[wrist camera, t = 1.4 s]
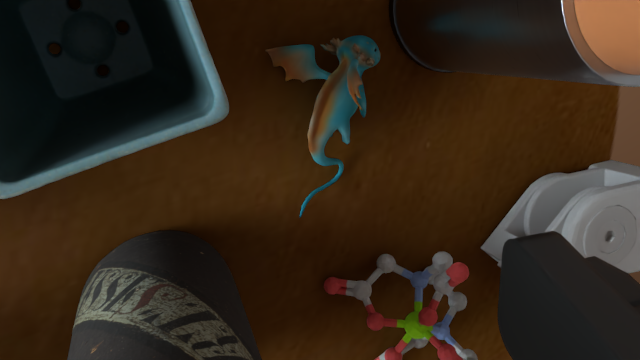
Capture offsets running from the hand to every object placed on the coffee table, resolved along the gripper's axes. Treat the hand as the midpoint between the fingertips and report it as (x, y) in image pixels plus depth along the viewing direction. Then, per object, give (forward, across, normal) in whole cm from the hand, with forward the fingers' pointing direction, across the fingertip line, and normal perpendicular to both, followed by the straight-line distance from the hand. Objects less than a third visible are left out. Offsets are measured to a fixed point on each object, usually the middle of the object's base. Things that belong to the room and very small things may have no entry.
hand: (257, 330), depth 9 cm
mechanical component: (+18, -16, +18) cm, 30 cm away
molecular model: (+20, -7, +18) cm, 28 cm away
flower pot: (+23, +6, +1) cm, 23 cm away
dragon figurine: (+23, -5, +6) cm, 24 cm away
